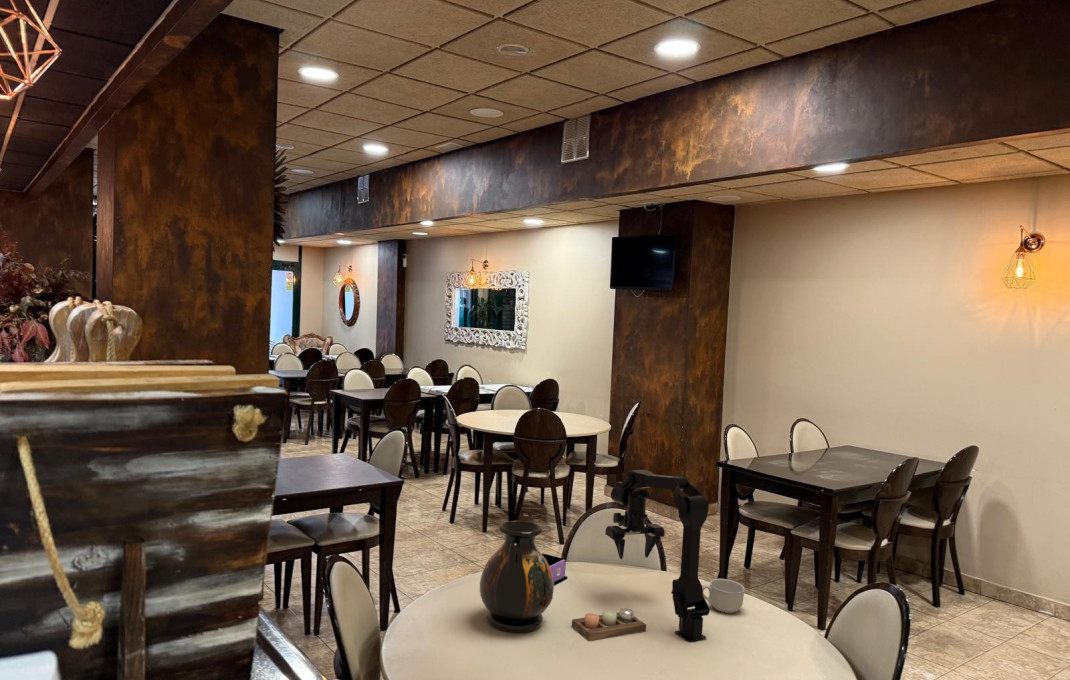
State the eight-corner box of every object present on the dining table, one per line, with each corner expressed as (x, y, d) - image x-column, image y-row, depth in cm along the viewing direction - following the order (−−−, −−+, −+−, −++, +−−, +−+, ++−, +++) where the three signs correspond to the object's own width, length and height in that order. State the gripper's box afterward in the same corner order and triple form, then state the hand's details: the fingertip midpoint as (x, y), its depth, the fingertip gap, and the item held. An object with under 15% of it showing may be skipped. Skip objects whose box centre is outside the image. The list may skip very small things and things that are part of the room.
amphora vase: (544, 643, 192) (550, 541, 192) (468, 631, 196) (474, 531, 196) (557, 613, 213) (563, 521, 213) (488, 603, 218) (494, 512, 217)
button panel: (645, 631, 204) (646, 624, 204) (589, 640, 196) (590, 633, 196) (626, 617, 213) (626, 611, 213) (571, 626, 204) (572, 619, 204)
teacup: (739, 604, 230) (741, 580, 230) (746, 618, 219) (748, 592, 219) (696, 600, 231) (697, 576, 231) (700, 613, 220) (702, 588, 220)
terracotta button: (601, 628, 201) (601, 617, 201) (589, 630, 199) (589, 619, 199) (593, 622, 204) (594, 612, 204) (581, 624, 202) (582, 614, 202)
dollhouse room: (569, 578, 245) (570, 559, 244) (551, 588, 234) (552, 567, 234) (539, 570, 251) (540, 551, 251) (521, 579, 241) (522, 559, 241)
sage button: (618, 625, 203) (619, 615, 203) (607, 627, 202) (607, 616, 202) (611, 620, 207) (611, 609, 207) (599, 621, 205) (600, 611, 205)
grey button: (635, 622, 206) (636, 612, 206) (624, 624, 204) (625, 614, 204) (627, 617, 210) (628, 607, 210) (616, 619, 208) (617, 609, 208)
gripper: (649, 502, 237) (646, 548, 237) (599, 504, 230) (596, 552, 230) (666, 510, 226) (664, 559, 226) (615, 513, 219) (612, 563, 220)
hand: (633, 558), depth 226 cm, fingers open, 9 cm apart
